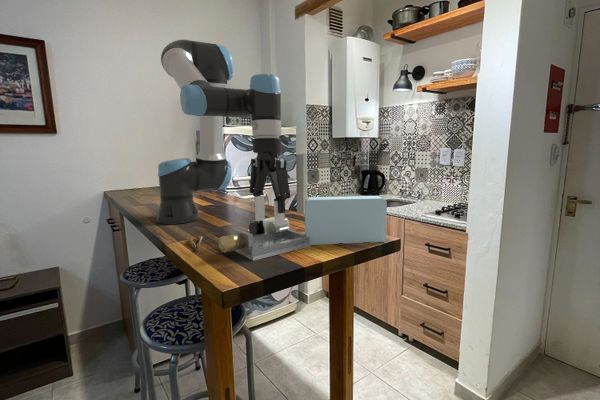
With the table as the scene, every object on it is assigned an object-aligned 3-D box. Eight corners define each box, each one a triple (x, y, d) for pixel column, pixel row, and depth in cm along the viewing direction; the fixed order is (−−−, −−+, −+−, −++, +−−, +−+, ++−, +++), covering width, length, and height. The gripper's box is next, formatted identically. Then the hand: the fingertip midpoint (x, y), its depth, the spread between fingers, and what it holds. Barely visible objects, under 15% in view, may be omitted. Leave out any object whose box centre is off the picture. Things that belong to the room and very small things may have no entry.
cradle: (234, 265, 76) (233, 240, 75) (212, 251, 87) (210, 229, 86) (310, 246, 90) (310, 225, 89) (283, 236, 100) (282, 217, 100)
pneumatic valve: (298, 213, 98) (274, 216, 107) (265, 220, 91) (244, 222, 100) (301, 232, 98) (277, 232, 107) (269, 240, 91) (247, 240, 100)
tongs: (192, 254, 86) (191, 247, 86) (188, 241, 98) (188, 235, 98) (208, 252, 88) (208, 245, 87) (203, 240, 99) (202, 233, 99)
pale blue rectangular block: (379, 237, 98) (381, 195, 96) (385, 243, 93) (387, 198, 91) (304, 239, 97) (304, 196, 95) (306, 245, 92) (305, 199, 90)
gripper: (234, 138, 91) (238, 217, 95) (278, 135, 74) (280, 231, 78) (258, 139, 96) (260, 214, 99) (304, 136, 79) (305, 226, 82)
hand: (269, 221), depth 89 cm, fingers open, 9 cm apart
